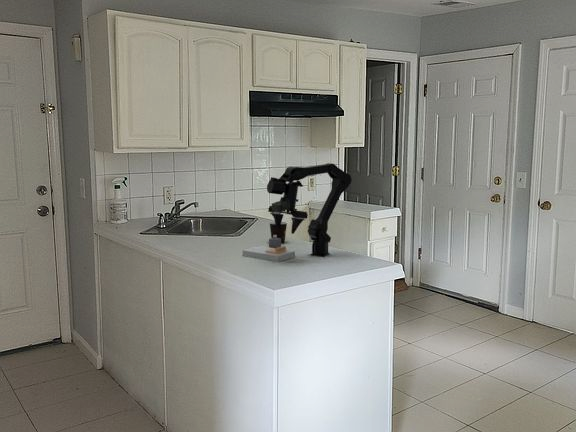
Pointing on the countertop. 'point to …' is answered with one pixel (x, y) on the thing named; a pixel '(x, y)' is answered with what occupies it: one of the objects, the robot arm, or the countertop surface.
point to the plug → (275, 242)
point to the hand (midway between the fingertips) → (284, 231)
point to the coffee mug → (278, 231)
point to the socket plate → (267, 254)
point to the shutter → (277, 250)
